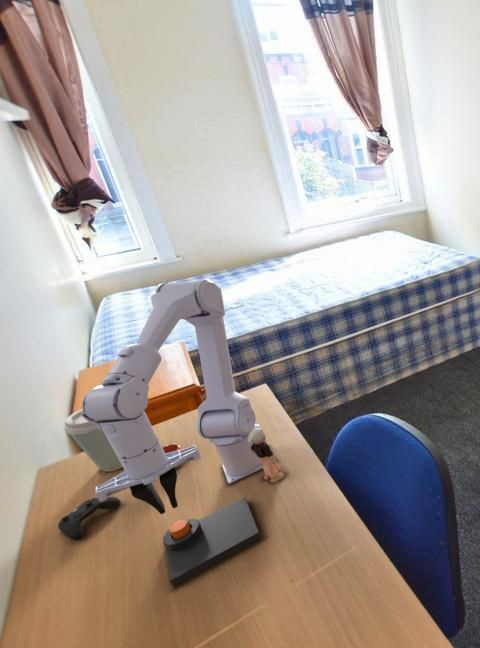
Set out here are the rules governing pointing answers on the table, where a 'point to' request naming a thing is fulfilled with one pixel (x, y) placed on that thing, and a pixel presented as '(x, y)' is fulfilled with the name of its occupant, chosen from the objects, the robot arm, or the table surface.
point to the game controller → (84, 516)
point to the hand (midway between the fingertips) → (168, 507)
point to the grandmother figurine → (264, 455)
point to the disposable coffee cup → (92, 442)
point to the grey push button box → (210, 541)
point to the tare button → (179, 529)
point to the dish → (171, 448)
